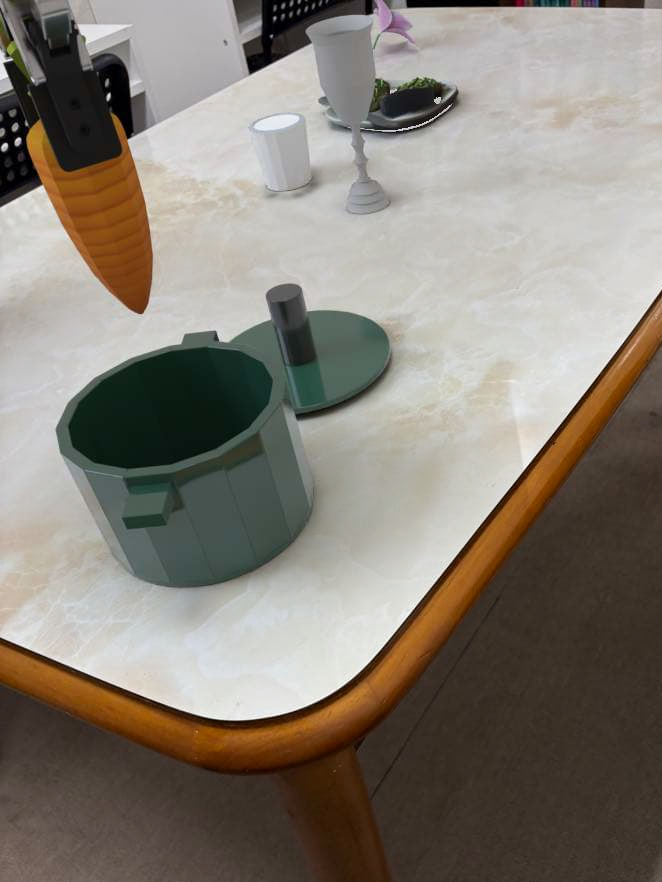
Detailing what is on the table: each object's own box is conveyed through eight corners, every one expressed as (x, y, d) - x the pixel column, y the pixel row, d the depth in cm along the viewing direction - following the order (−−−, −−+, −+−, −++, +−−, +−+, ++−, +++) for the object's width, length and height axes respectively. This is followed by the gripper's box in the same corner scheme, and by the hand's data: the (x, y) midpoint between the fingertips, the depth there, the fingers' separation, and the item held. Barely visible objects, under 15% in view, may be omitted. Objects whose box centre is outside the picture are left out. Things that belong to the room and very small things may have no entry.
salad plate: (289, 132, 118) (281, 97, 115) (357, 89, 129) (352, 55, 126) (409, 141, 110) (405, 103, 107) (472, 94, 120) (469, 58, 117)
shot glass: (276, 170, 109) (263, 111, 104) (325, 170, 106) (314, 110, 102) (252, 192, 104) (237, 132, 99) (302, 193, 102) (290, 132, 97)
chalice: (351, 190, 101) (322, 16, 88) (405, 191, 99) (383, 12, 86) (328, 217, 96) (294, 38, 83) (385, 218, 94) (358, 34, 81)
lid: (199, 431, 69) (171, 354, 64) (226, 331, 80) (204, 260, 75) (391, 410, 67) (378, 330, 63) (391, 311, 79) (380, 237, 74)
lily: (413, 69, 136) (431, 1, 132) (341, 45, 134) (358, -25, 130) (413, 74, 147) (430, 11, 143) (347, 51, 145) (362, -13, 141)
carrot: (174, 285, 54) (83, 12, 43) (188, 319, 50) (93, 30, 40) (96, 307, 53) (-17, 34, 42) (105, 344, 49) (-16, 55, 39)
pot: (77, 628, 54) (11, 518, 48) (143, 438, 69) (100, 334, 62) (302, 607, 53) (266, 492, 47) (321, 418, 68) (296, 311, 61)
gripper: (-219, -309, 37) (-22, 132, 49) (-208, -373, 26) (45, 221, 38) (-44, -332, 39) (103, 96, 52) (39, -400, 28) (201, 170, 40)
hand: (77, 145), depth 45 cm, fingers closed on carrot, 4 cm apart
